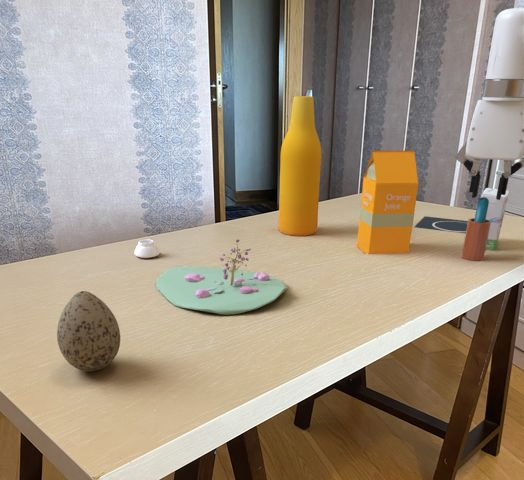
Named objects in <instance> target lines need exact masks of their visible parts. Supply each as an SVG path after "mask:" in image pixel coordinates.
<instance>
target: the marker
mask: <svg viewBox="0 0 524 480" xmlns="http://www.w3.org/2000/svg"><path fill="white" fill-rule="evenodd" d="M488 205H489V200H488V198H486V197H482V198H481V197H480V198H479V199H478V201H477V203H476V210H475V215H474V218H475V219H474V222H478V223H485V220H486V215H487V210H488Z"/></svg>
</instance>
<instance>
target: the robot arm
mask: <svg viewBox="0 0 524 480" xmlns="http://www.w3.org/2000/svg"><path fill="white" fill-rule="evenodd" d="M486 67H487V68H486V73H485V80H484V85H483V90H482V97H481V99H478V100H477V101H476V104H475V108H474V111H473V114H472V118H471V122H470V126H469V130H468V134H467V140H466V141H465V143H464V144H463V145H462V146H461V148H459V150H458V151H457V153H456V154H455V155H454V158H455V160H456V161H458V162H459V163H460V164H462V165H463V166H464V167H465V169H466V170H467V171H468V173H470V175H471V178H470V185H469V189H468V192H469V193H471V199H475V198H477V196H478V195H479V188H480V182H481V177H482V175H481V171H480V169H481V166H482V163H483V160H491V161H492V160H493V161H494V160H495V161H503V172H502V173H501V176H500V178H499V181H498V187H497V189H498V191H497V196H496V199H497V200H500V199H501V195H505V194H506V190H508V189H507V188H508V183H509V178H510V177H512V176H513V175H514V174H515V173H517V172H518V171H519V170H520V169H522V168H524V158H523V157H524V7H513V8H507V9H503V10H502V11H500V12H499V13H498V14H497V16H496V17H495V21H494V25H493V31H492V36H491V44H490V50H489V54H488V61H487V66H486ZM472 159H474V161H472ZM520 159H521V160H520ZM518 160H519V161H518ZM513 161H516V162H515V163H513Z"/></svg>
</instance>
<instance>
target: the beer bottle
mask: <svg viewBox="0 0 524 480" xmlns="http://www.w3.org/2000/svg"><path fill="white" fill-rule="evenodd" d="M314 100H315V99H314V96H312V95H311V96H310V95H294V96H293V100H292V107H291V115H290V123H289V126H288V130H287V133H286V134H285V136H284V139H283V141H282V144H281V149H280V163H279V165H280V167H279V168H280V169H279V170H280V171H279V198H278V199H279V200H278V201H279V205H278V206H279V207H278V222H277V223H278V224H277V225H278V231H279V232H280V233H281V234H283V235H287V236H292V237H293V236H296V237H302V236H303V237H304V236H305V237H306V236H311V235H315V233H316V232H317V230H318V226H319V225H318V224H319V202H320V183H321V170H322V169H321V168H322V157H323V156H322V155H323V153H322V144H321V142H320V141H321V140H320V138H319V136H318V132H317V129H316V123H315V121H316V120H315V101H314Z"/></svg>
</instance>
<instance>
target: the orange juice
mask: <svg viewBox="0 0 524 480" xmlns="http://www.w3.org/2000/svg"><path fill="white" fill-rule="evenodd" d="M416 161H417V160H416V154H415V150H372V152H371V156H370V158H369V161H368V164H367V166H366V170H365V173H364V175H363V179H362V191H361V200H360V209H359V219H358V220H359V221H358V231H357V243H356V247H357V248H358V249H359V250H361V251H362V252H363V254H368V255H377V254H378V255H383V254H385V255H386V254H388V255H389V254H409V253H410V246H411V245H410V244H411V239H412V232H413V227H414V218H415V210H416V204H417V202H416V201H417V196H418V189H419V184H420V182H419V179H418V178H419V177H418V171H417V170H418V169H417V163H416Z"/></svg>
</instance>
